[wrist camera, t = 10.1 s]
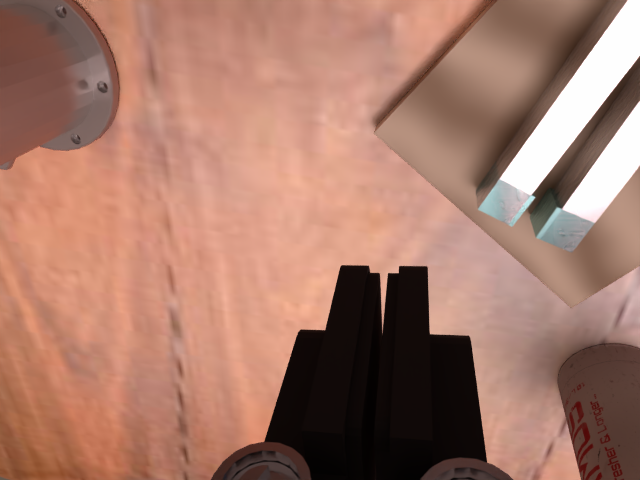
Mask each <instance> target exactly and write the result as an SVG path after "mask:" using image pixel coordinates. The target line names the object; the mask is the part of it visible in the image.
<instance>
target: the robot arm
mask: <svg viewBox="0 0 640 480" xmlns="http://www.w3.org/2000/svg"><path fill="white" fill-rule="evenodd" d="M118 99H119V85H118V75H117V71H116V67H115V64H114V60H113V57H112V55H111V52H110V50H109V48H108V46H107V43H106V41H105V39H104V38H103V36H102V35H101V33H100V31H99V30H98V28H97V27H96V25H95V24H94V23H93V21H92V20H91V19H90V18H89V17H88V15H87V14H86V13H85V12H84V11H83V10H82V9H81V8H80V7H79V6H78V5H77V4H76V3H75V2H73V1H72V0H0V169H4V170H8V169H11V168H12V166H13V164H14V162H15V159H16V158H17V157H19V156H21V155H23V154H25V153H27V152H29V151H31V150H33V149H35V148H37V147H39V146H40V147H43V148H47V149H51V150H60V151H69V150H75V149H80V148H82V147H84V146H86V145H89V144H91V143H92V142H94V141H95V140H97V139H98V138H100V137H101V136H102V135H103V134H104V133H105V132H106V131H107V130H108V129H109V127H110V125H111V123H112V121H113V120H114V118H115V114H116V110H117V107H118ZM211 480H513V479H512V478H511V477H510V476H509V475H508V474H506V473H505V472H503V471H502V470H500V469H499V468H497V467H496V466H494V465H492V464H489V463H487V458H486V451H485V443H484V436H483V428H482V421H481V413H480V406H479V398H478V391H477V383H476V376H475V368H474V361H473V353H472V346H471V340H470V337H469V336H459V335H433V334H430V332H429V299H428V267H427V266H399V273H388V279H387V291H386V302H385V313H384V324H383V335H382V313H381V287H380V273H370V269H369V266H353V265H342V266H341V267H340V271H339V275H338V279H337V283H336V288H335V292H334V296H333V300H332V304H331V309H330V313H329V317H328V321H327V325H326V330H300V331H299V332H298V335H297V337H296V341H295V344H294V347H293V350H292V354H291V357H290V360H289V363H288V367H287V370H286V373H285V376H284V380H283V383H282V386H281V389H280V393H279V396H278V399H277V402H276V406H275V409H274V412H273V415H272V419H271V422H270V425H269V428H268V432H267V435H266V438H265V441H264V442H261V443H256V444H250V445H248V446H246V447H244V448H242V449H239V450H237V451H235V452H234V453H233V454H232V455H230V456H229V457H228V458H227V459H226V460H224V461H223V462H222V464H221V465H220V467H219V468H218V469H217V471H216V472H215V473H214V475H213V477H212V479H211Z"/></svg>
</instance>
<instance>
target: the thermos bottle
mask: <svg viewBox="0 0 640 480" xmlns="http://www.w3.org/2000/svg"><path fill="white" fill-rule="evenodd" d="M558 386H559V391H560V395H561V399H562V403H563V407H564V412H565V416H566V420H567V424H568V428H569V432H570V436H571V440H572V444H573V448H574V452H575V456H576V460H577V464H578V469H579V473H580V477H581V480H640V349H639V348H636V347H633V346H629V345H623V344H603V345H597V346H593V347H589V348H586V349H584V350H581V351H579V352H578V353H576V354H574V355H573V356H571V357H570V358H569V359H568V360H567V361H566V362H565V363H564V365H563V366H562V367H561V370H560V372H559V374H558Z"/></svg>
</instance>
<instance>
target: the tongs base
mask: <svg viewBox="0 0 640 480" xmlns="http://www.w3.org/2000/svg"><path fill="white" fill-rule="evenodd" d="M639 56H640V0H608V1H607V2H606V4H605V5H604V7H603V8H602V9H601V11H600V12H599V14H598V15H597V17H596V18H595V20H594V21H593V22H592V24H591V25H590V27H589V28H588V30H587V31H586V32H585V34H584V35H583V37H582V38H581V40H580V41H579V42H578V44H577V45H576V47H575V48H574V50H573V51H572V52H571V54H570V55H569V57H568V58H567V60H566V61H565V63H564V64H563V65H562V67H561V68H560V70H559V71H558V73H557V74H556V75H555V77H554V78H553V80H552V81H551V83H550V84H549V85H548V87H547V88H546V90H545V91H544V93H543V94H542V95H541V97H540V98H539V100H538V101H537V103H536V104H535V106H534V107H533V108H532V110H531V111H530V113H529V114H528V116H527V117H526V118H525V120H524V121H523V123H522V124H521V126H520V127H519V128H518V130H517V131H516V133H515V134H514V136H513V137H512V138H511V140H510V141H509V143H508V144H507V146H506V147H505V148H504V150H503V151H502V153H501V154H500V156H499V157H498V159H497V160H496V161H495V163H494V164H493V166H492V167H491V169H490V170H489V171H488V173H487V174H486V176H485V177H484V179H483V180H482V181H481V183H480V184H479V186H478V187H477V189H476V198H477V208H478V210H480V211H482V212H484V213H486V214H488V215H490V216H492V217H494V218H496V219H498V220H500V221H502V222H504V223H506V224H508V225H510V226H513V225H514V224H515V223H516V221H517V220H518V219H519V218H520V216H521V215H522V214H523V212H524V211H525V210H526V209H527V207H528V206H529V205H530V204H531V202H532V201H533V200H534V198H535V194H534V191H535V189H536V188H537V187H538V186H539V184H540V183H541V182H542V180H543V179H544V178H545V177H546V175H547V174H548V173H549V171H550V170H551V169H552V168H553V166H554V165H555V164H556V162H557V161H558V160H559V159H560V157H561V156H562V155H563V153H564V152H565V151H566V150H567V148H568V147H569V146H570V144H571V143H572V142H573V141H574V139H575V138H576V137H577V135H578V134H579V133H580V132H581V130H582V129H583V128H584V126H585V125H586V124H587V123H588V121H589V120H590V119H591V117H592V116H593V115H594V114H595V112H596V111H597V110H598V108H599V107H600V106H601V105H602V103H603V102H604V101H605V99H606V98H607V97H608V96H609V94H610V93H611V92H612V90H613V89H614V88H615V87H616V85H617V84H618V83H619V81H620V80H621V79H622V78H623V76H624V75H625V74H626V72H627V71H628V70H629V69H630V67H631V66H632V65H633V63H634V62H635V61H636V60H637V58H638V57H639Z"/></svg>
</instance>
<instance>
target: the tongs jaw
mask: <svg viewBox="0 0 640 480" xmlns="http://www.w3.org/2000/svg"><path fill="white" fill-rule="evenodd" d="M639 166H640V64H639V66H638V67H637V69H636V70H635V72H634V73H633V74H632V76H631V77H630V79H629V80H628V82H627V83H626V85H625V86H624V87H623V89H622V90H621V92H620V93H619V95H618V96H617V98H616V99H615V101H614V102H613V103H612V105H611V106H610V108H609V109H608V111H607V112H606V114H605V115H604V116H603V118H602V119H601V121H600V122H599V124H598V125H597V127H596V128H595V129H594V131H593V132H592V134H591V135H590V137H589V138H588V140H587V141H586V143H585V144H584V145H583V147H582V148H581V150H580V151H579V153H578V154H577V156H576V157H575V158H574V160H573V161H572V163H571V164H570V166H569V167H568V169H567V170H566V172H565V173H564V174H563V176H562V177H561V179H560V180H559V182H558V183H557V185H556V186H555V187H554V189H552V188H550V187H549V188H548V190H547V191H546V193H545V194H544V196H543V197H542V199H541V200H540V202H539V203H538V205H537V206H536V207H535V209H534V210H533V212H532V213H531V215H530V220H531V223H532V227H533V230H534V233H535V237H536V238H538V239H540V240H542V241H545V242H547V243H550V244H552V245H554V246H557V247H559V248H562V249H564V250H566V251H569V252H571V253H572V252H573V251H574V249H575V248H576V247H577V246H578V244H579V243H580V242H581V240H582V239H583V238H584V237H585V235H586V234H587V233H588V231H589V230H590V229H591V228H592V226H593V225H594V224H595V222H596V221H597V220H598V219H599V217H600V216H601V215H602V213H603V212H604V211H605V210H606V208H607V207H608V206H609V204H610V203H611V202H612V201H613V199H614V198H615V197H616V195H617V194H618V193H619V192H620V190H621V189H622V188H623V186H624V185H625V184H626V183H627V181H628V180H629V179H630V177H631V176H632V175H633V174H634V172H635V171H636V170H637V168H638V167H639Z"/></svg>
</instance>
